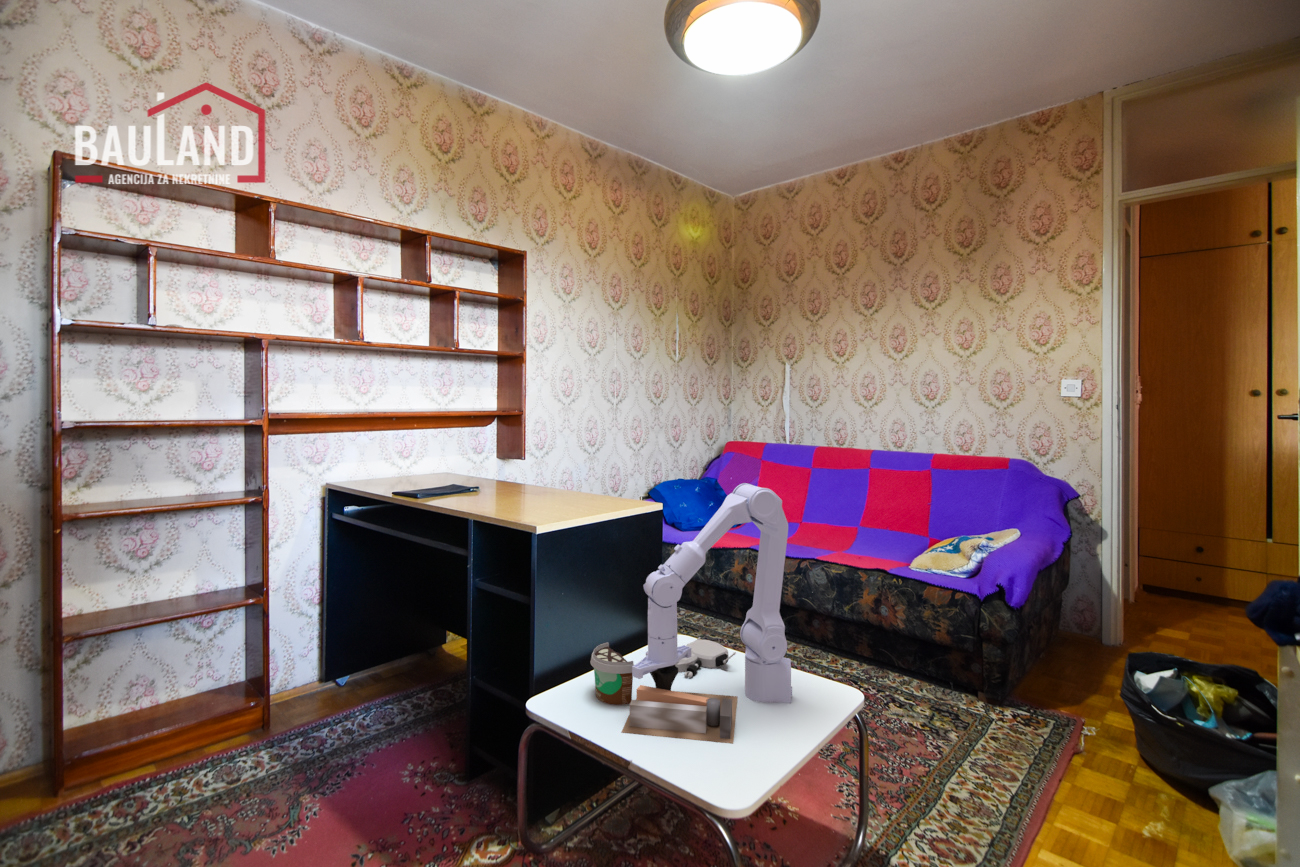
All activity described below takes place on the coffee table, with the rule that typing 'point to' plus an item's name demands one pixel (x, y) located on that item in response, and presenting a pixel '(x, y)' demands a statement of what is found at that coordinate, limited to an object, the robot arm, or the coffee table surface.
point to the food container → (612, 676)
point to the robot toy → (703, 657)
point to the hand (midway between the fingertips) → (663, 703)
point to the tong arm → (681, 701)
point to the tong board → (686, 735)
